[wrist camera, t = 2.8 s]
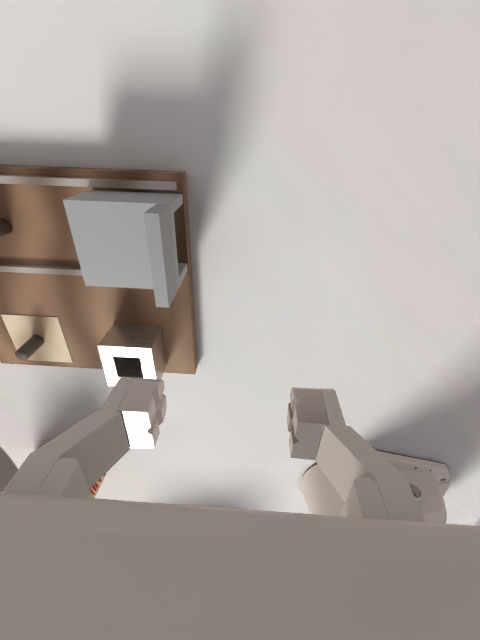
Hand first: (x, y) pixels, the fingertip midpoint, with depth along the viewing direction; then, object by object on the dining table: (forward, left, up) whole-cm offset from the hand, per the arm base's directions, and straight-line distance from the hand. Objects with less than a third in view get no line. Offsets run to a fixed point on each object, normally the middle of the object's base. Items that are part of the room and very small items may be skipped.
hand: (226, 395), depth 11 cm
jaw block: (+12, +13, -20) cm, 26 cm away
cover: (+9, 0, -19) cm, 22 cm away
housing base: (+18, +6, -21) cm, 28 cm away
